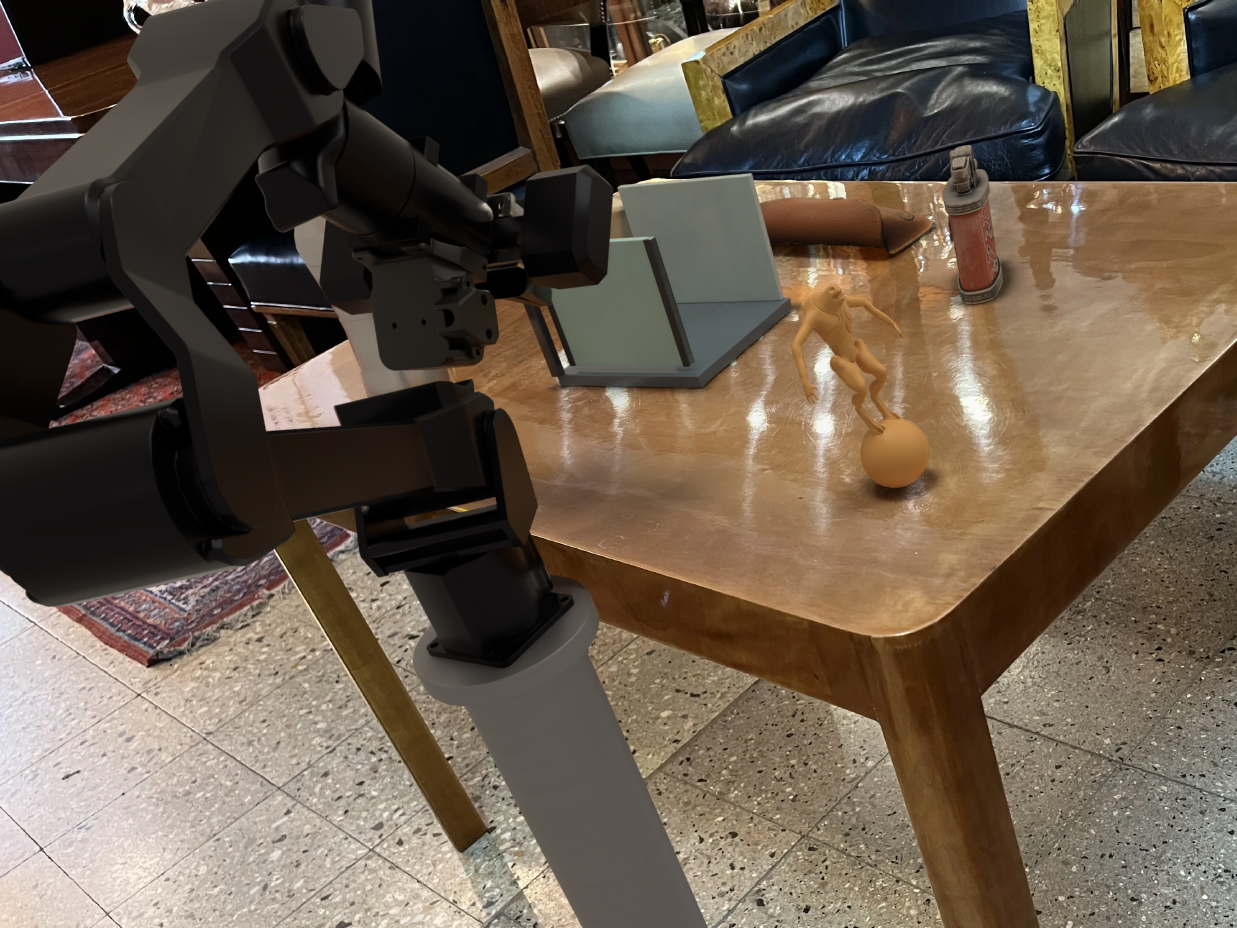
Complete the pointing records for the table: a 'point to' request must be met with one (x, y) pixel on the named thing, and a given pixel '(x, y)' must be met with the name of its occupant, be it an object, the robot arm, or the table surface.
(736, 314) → the shower stall
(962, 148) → the lighter
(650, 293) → the shower door
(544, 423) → the table surface
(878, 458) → the figurine
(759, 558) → the table surface
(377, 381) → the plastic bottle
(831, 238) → the sunglasses case
